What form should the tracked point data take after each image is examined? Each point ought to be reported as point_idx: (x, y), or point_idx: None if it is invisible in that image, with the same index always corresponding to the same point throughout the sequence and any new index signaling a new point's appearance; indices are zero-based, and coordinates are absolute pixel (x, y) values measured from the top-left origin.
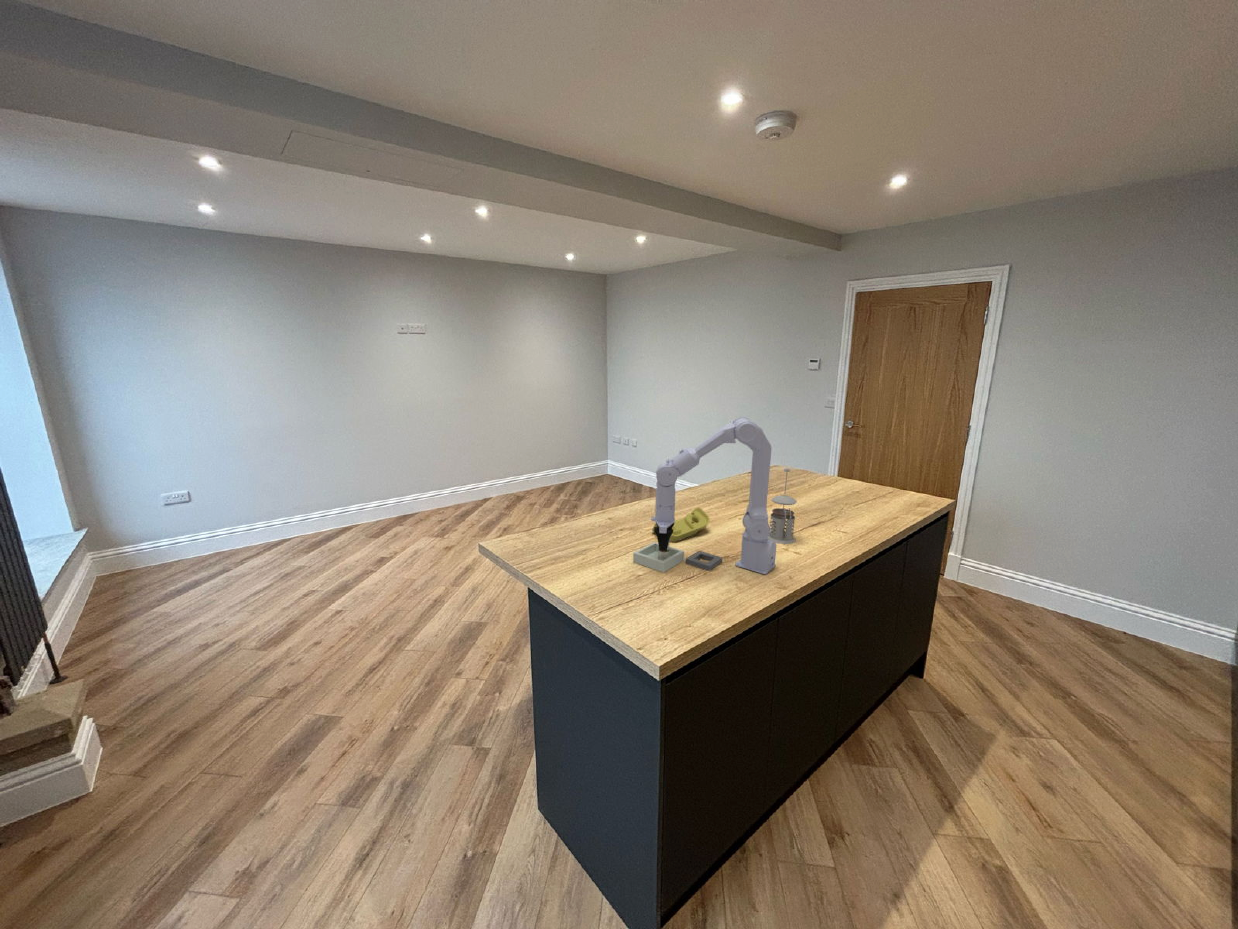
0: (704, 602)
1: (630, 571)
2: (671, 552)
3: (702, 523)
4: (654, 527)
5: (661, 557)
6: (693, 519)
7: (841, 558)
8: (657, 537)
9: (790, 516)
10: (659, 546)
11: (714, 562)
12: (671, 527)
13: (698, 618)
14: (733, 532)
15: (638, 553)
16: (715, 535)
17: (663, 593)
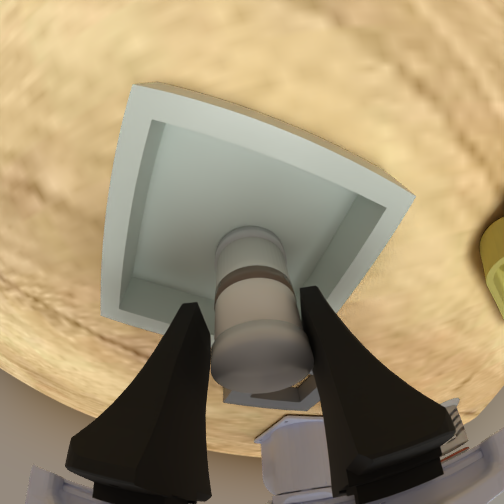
0: (56, 373)
1: (45, 129)
2: None
3: None
4: (114, 480)
5: (216, 267)
6: None
7: None
8: (120, 397)
9: None
10: (170, 328)
11: (259, 406)
12: (330, 461)
13: (9, 359)
14: (487, 359)
15: (134, 131)
16: (486, 338)
17: (11, 300)
